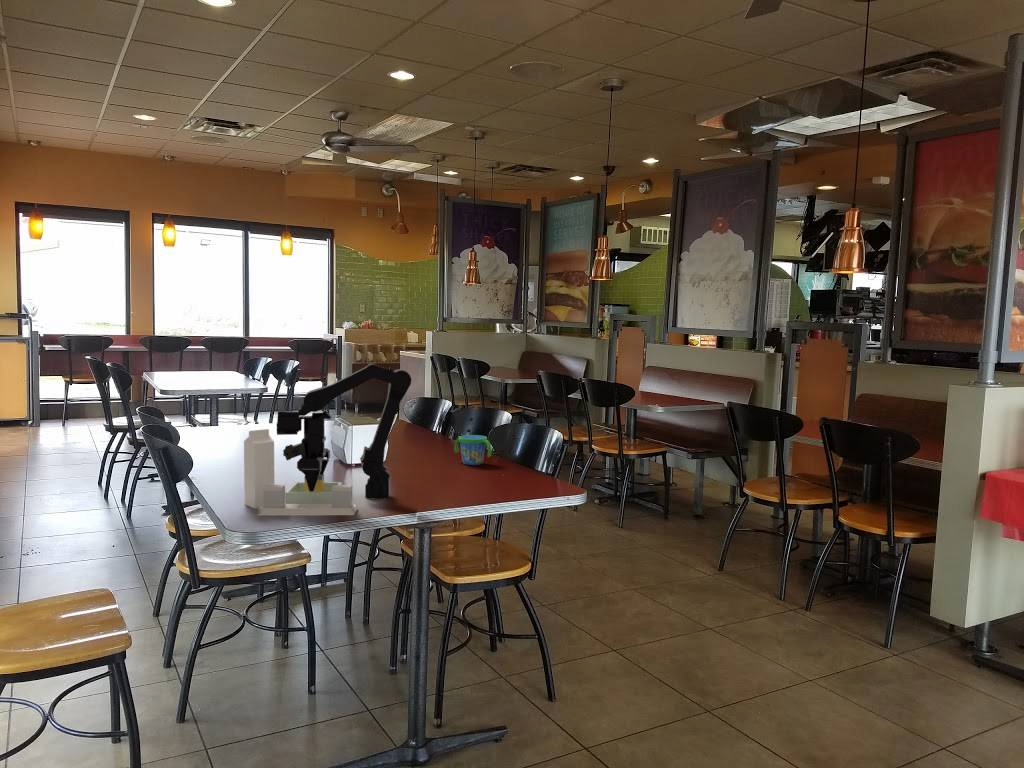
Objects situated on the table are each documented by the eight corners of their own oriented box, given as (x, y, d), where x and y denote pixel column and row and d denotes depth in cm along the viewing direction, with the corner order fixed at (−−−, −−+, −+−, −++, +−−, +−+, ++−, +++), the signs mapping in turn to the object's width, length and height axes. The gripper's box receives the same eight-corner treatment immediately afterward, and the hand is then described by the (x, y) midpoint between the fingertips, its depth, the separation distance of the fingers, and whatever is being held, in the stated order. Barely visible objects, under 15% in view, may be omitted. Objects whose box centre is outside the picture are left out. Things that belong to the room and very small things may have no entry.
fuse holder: (357, 512, 209) (357, 503, 208) (353, 518, 202) (353, 509, 201) (264, 512, 207) (263, 503, 206) (257, 518, 200) (257, 509, 200)
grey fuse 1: (285, 510, 205) (284, 484, 205) (282, 513, 202) (282, 487, 202) (266, 510, 205) (266, 484, 204) (263, 513, 202) (263, 487, 201)
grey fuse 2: (352, 510, 206) (352, 484, 206) (350, 513, 203) (350, 487, 203) (333, 510, 206) (333, 484, 206) (331, 513, 203) (331, 487, 203)
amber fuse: (324, 497, 220) (324, 474, 220) (322, 500, 217) (322, 476, 217) (306, 497, 220) (306, 474, 219) (304, 500, 217) (304, 476, 216)
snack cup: (497, 464, 282) (498, 437, 281) (479, 468, 274) (480, 440, 273) (466, 459, 292) (466, 433, 291) (447, 463, 283) (447, 436, 282)
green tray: (341, 497, 226) (341, 482, 225) (334, 508, 212) (334, 492, 212) (295, 497, 225) (295, 482, 224) (285, 508, 211) (285, 492, 211)
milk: (274, 508, 211) (274, 430, 209) (254, 512, 207) (254, 432, 205) (264, 504, 215) (263, 427, 214) (243, 507, 211) (243, 429, 209)
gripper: (292, 429, 226) (292, 481, 227) (278, 439, 207) (278, 495, 208) (330, 429, 226) (330, 481, 228) (319, 439, 208) (319, 495, 209)
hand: (314, 487), depth 218 cm, fingers open, 9 cm apart
